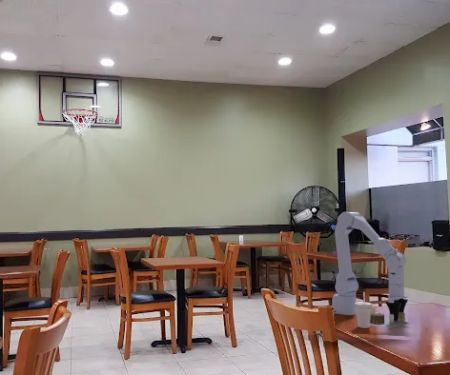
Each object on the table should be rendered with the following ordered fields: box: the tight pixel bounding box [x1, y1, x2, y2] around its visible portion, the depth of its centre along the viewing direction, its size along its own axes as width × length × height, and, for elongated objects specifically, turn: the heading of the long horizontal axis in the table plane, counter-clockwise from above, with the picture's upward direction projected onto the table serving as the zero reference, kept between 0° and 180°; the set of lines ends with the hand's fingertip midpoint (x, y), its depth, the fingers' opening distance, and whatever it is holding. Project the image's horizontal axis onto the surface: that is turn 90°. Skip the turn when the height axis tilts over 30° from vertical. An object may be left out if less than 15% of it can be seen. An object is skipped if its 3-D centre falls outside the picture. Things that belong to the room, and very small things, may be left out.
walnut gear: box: [370, 312, 385, 324], centre depth 185 cm, size 5×5×3 cm
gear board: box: [370, 312, 410, 329], centre depth 186 cm, size 12×18×5 cm, turn 142°
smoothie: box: [354, 291, 373, 329], centre depth 178 cm, size 6×6×14 cm
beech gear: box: [394, 312, 406, 322], centre depth 188 cm, size 5×5×3 cm
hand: (397, 318), depth 188 cm, fingers closed on beech gear, 5 cm apart
